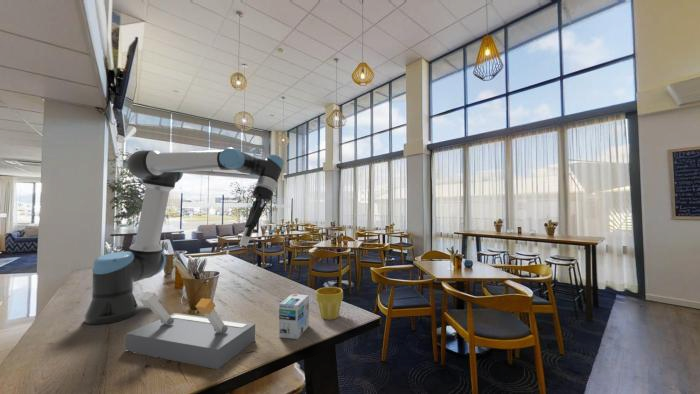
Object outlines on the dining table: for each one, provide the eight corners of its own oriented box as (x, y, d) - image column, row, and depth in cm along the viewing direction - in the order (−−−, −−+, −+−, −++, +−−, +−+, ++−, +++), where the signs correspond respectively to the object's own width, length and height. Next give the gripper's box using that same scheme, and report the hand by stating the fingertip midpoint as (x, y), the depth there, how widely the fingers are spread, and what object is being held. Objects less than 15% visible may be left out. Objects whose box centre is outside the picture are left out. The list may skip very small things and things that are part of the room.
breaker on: (161, 325, 85) (138, 299, 79) (168, 318, 87) (146, 291, 81) (169, 326, 84) (147, 300, 78) (175, 319, 86) (154, 292, 80)
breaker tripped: (214, 333, 80) (195, 306, 73) (220, 325, 82) (201, 298, 75) (224, 335, 79) (205, 307, 72) (229, 326, 81) (211, 299, 74)
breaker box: (125, 351, 79) (125, 332, 79) (174, 327, 95) (174, 312, 95) (217, 369, 70) (217, 348, 71) (255, 340, 86) (255, 323, 86)
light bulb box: (297, 340, 86) (298, 305, 86) (277, 337, 87) (278, 303, 88) (309, 325, 97) (309, 294, 97) (291, 323, 98) (291, 293, 98)
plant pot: (310, 317, 104) (310, 291, 104) (328, 309, 112) (328, 285, 112) (330, 324, 97) (331, 296, 98) (348, 315, 106) (348, 289, 106)
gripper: (278, 189, 109) (257, 246, 99) (268, 196, 119) (248, 249, 109) (260, 181, 105) (237, 239, 96) (251, 189, 116) (229, 243, 106)
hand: (243, 244), depth 103 cm, fingers closed
